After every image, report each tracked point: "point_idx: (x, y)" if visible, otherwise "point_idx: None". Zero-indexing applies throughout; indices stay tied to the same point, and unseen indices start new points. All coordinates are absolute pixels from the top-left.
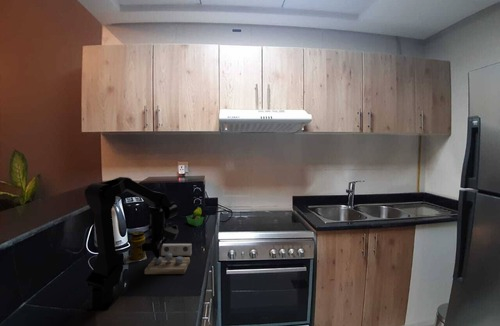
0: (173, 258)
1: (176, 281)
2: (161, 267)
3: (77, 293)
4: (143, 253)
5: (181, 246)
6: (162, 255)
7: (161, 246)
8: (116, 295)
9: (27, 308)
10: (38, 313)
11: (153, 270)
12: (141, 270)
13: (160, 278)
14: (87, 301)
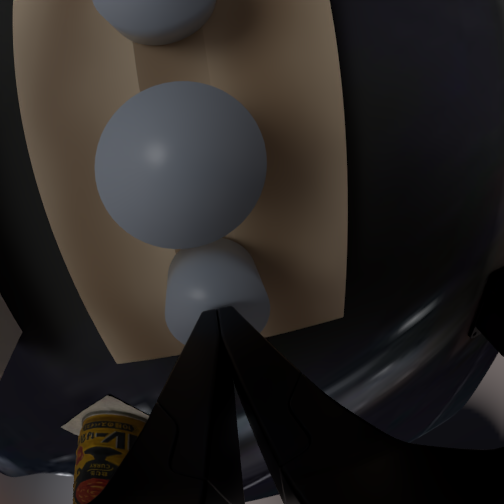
0: (53, 150)
1: None
2: (309, 178)
3: (420, 402)
4: (111, 440)
5: None
6: (17, 325)
7: (211, 465)
8: (491, 284)
9: (439, 420)
10: (465, 391)
11: (342, 239)
12: None
13: (386, 127)
14: (470, 347)
